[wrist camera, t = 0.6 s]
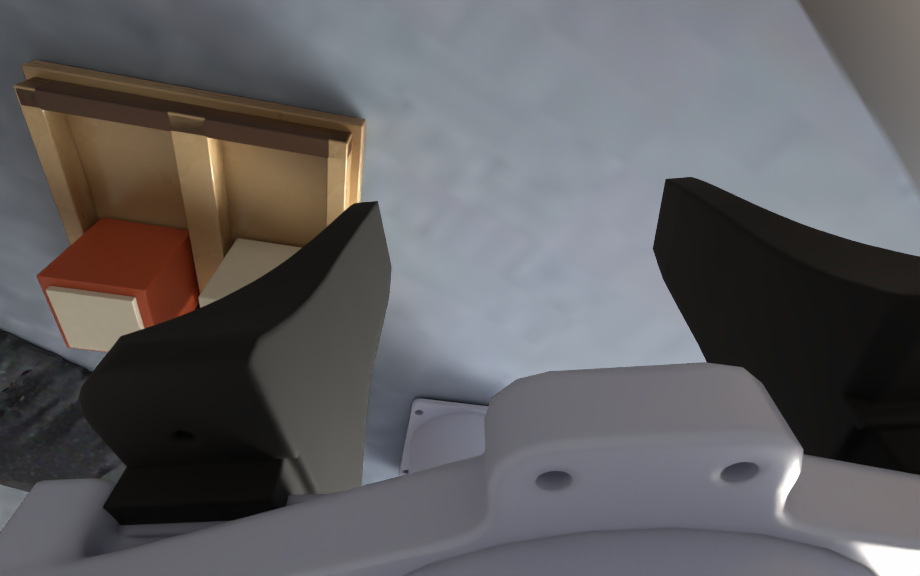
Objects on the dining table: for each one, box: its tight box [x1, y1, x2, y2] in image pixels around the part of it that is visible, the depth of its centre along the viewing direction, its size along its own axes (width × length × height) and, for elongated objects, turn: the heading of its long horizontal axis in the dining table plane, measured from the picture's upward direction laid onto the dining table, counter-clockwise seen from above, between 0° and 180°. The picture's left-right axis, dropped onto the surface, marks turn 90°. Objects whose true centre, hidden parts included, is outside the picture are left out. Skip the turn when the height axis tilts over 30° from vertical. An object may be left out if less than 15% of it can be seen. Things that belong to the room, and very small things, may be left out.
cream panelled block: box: [198, 238, 301, 308], centre depth 23 cm, size 4×4×5 cm
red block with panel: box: [37, 218, 200, 352], centre depth 22 cm, size 4×4×5 cm
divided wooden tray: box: [13, 60, 366, 310], centre depth 23 cm, size 12×13×2 cm
